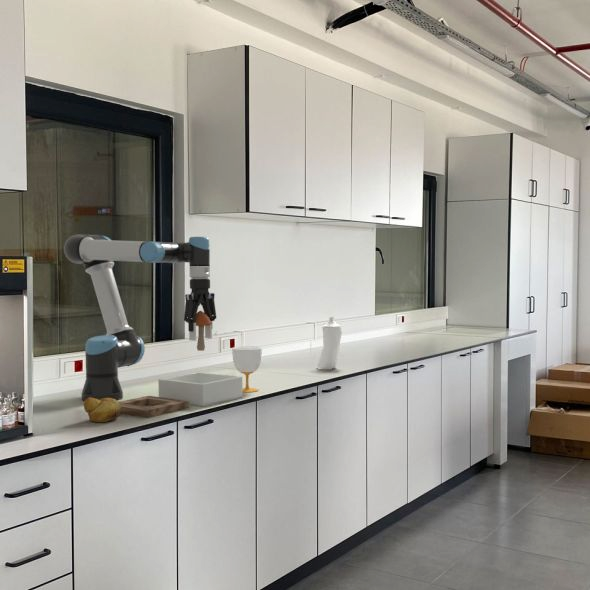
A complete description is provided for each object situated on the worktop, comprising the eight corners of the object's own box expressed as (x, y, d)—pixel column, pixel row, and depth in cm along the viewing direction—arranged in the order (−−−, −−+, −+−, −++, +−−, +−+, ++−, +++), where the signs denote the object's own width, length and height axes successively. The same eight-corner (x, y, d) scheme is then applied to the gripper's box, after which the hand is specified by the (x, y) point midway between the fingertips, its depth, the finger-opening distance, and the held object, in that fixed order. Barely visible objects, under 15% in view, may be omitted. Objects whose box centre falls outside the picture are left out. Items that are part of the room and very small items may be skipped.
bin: (203, 406, 267) (203, 384, 266) (158, 400, 279) (158, 379, 279) (242, 397, 285) (242, 376, 284) (198, 392, 297) (198, 372, 297)
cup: (228, 389, 304) (228, 347, 304) (255, 387, 309) (255, 345, 308) (238, 393, 293) (237, 350, 293) (266, 391, 298) (265, 348, 297)
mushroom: (203, 348, 287) (202, 309, 286) (216, 350, 281) (215, 310, 281) (186, 350, 281) (185, 310, 281) (199, 352, 276) (198, 311, 275)
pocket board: (147, 417, 248) (147, 410, 248) (106, 411, 260) (106, 404, 259) (189, 408, 264) (189, 401, 264) (148, 402, 276) (148, 395, 276)
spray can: (336, 366, 372) (336, 315, 371) (344, 369, 362) (344, 317, 361) (314, 367, 368) (313, 316, 367) (321, 370, 358) (321, 317, 357)
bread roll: (107, 415, 254) (107, 391, 254) (130, 417, 249) (130, 393, 249) (80, 422, 242) (80, 397, 242) (104, 424, 238) (103, 399, 238)
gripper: (188, 278, 270) (189, 342, 270) (225, 277, 287) (226, 337, 287) (172, 278, 274) (173, 341, 275) (210, 277, 291) (211, 336, 292)
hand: (200, 339), depth 281 cm, fingers closed on mushroom, 8 cm apart
